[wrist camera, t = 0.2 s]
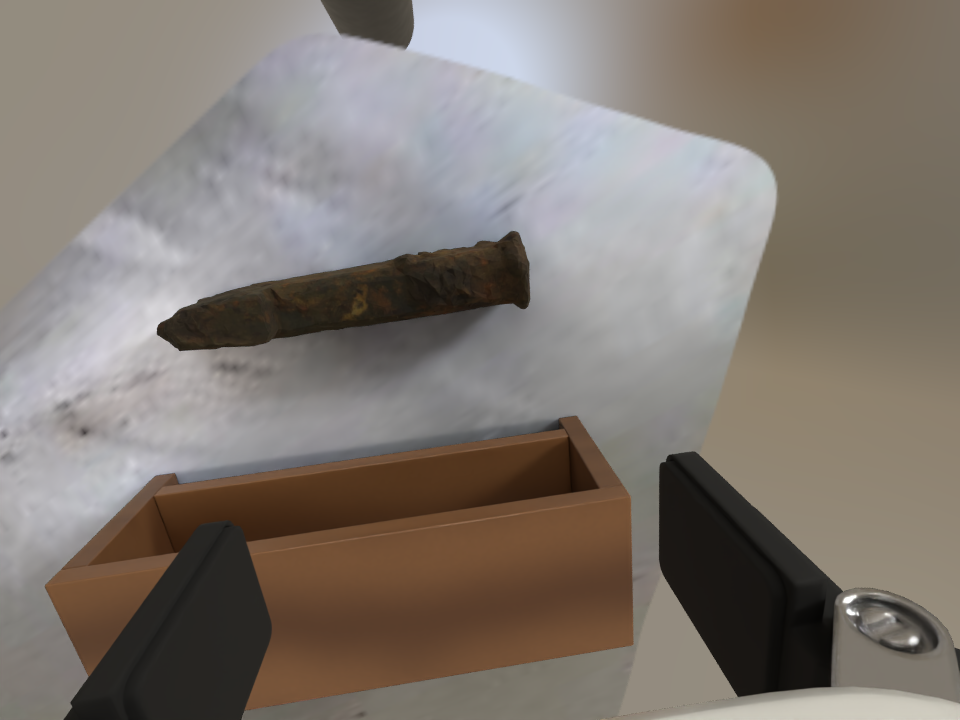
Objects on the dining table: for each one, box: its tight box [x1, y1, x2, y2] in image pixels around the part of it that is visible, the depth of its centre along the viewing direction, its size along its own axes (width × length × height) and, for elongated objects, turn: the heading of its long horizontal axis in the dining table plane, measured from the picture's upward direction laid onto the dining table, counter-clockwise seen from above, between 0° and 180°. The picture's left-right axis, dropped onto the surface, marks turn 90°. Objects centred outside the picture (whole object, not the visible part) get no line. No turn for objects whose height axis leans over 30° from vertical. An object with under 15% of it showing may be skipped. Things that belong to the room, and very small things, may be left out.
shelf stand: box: [45, 416, 633, 711], centre depth 28 cm, size 9×26×9 cm, turn 97°
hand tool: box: [157, 231, 530, 351], centre depth 25 cm, size 19×4×5 cm, turn 96°
